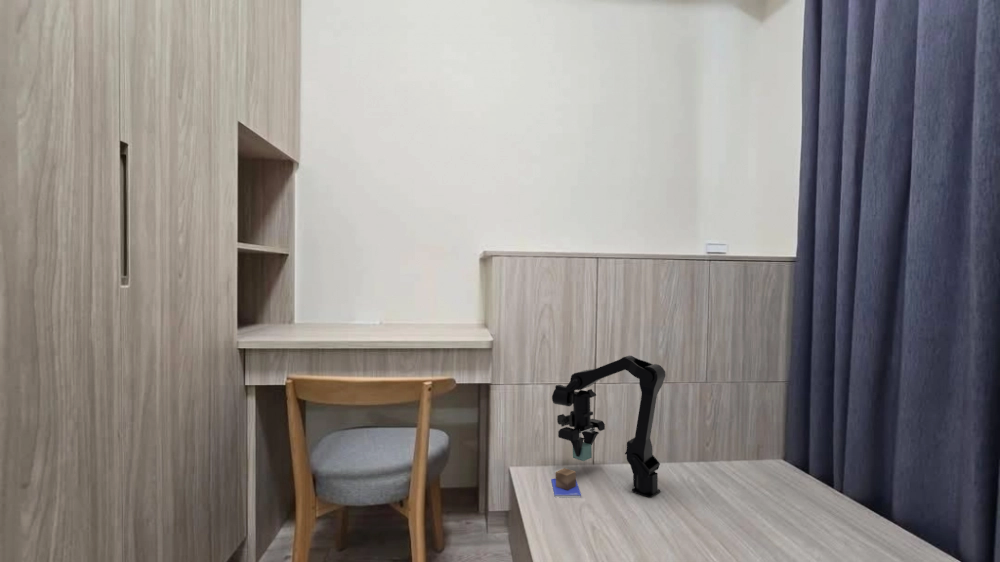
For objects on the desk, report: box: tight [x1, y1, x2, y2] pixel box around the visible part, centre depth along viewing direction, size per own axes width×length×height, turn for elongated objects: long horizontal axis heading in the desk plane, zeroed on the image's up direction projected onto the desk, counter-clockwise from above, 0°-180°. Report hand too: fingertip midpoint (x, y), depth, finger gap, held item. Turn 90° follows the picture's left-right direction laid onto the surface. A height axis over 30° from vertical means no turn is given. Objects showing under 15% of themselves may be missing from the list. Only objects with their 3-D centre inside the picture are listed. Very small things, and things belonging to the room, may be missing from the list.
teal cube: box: [572, 441, 593, 462], centre depth 163 cm, size 4×4×4 cm
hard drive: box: [550, 478, 583, 499], centre depth 152 cm, size 2×8×12 cm
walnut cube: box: [555, 467, 577, 490], centre depth 152 cm, size 4×4×4 cm
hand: (582, 454), depth 163 cm, fingers closed on teal cube, 4 cm apart
